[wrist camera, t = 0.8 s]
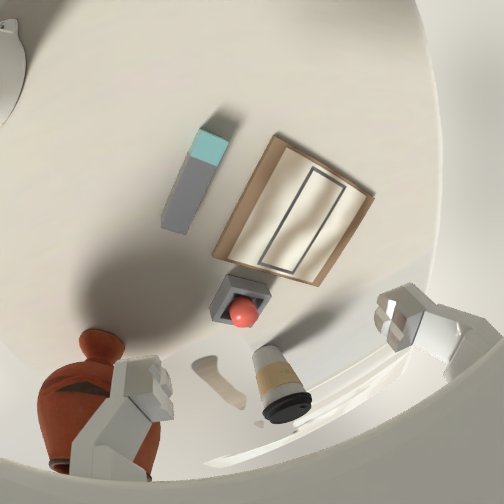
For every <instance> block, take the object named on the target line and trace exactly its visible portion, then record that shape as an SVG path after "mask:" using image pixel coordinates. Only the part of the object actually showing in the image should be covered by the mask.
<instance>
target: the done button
mask: <svg viewBox="0 0 504 504" xmlns="http://www.w3.org/2000/svg"><path fill="white" fill-rule="evenodd" d="M228 310H229V313H230V316H231V319H232V322H233V324H234V325H235V326H237V327H248V326H250V325H252V324H254V323H255V322H256V321H257V319H258V316H259V314H258V311H257V309H256V307H255V305H254V302H253V300H252V299H251V298H249V297H245V296H242V297H238V298H235V299H234V300H232V301H231V303H230V304H229V307H228Z"/></svg>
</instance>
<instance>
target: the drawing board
mask: <svg viewBox="0 0 504 504" xmlns="http://www.w3.org/2000/svg"><path fill="white" fill-rule="evenodd" d="M374 199H375V198H374V197H372V196H371V195H369V194H368V193H367V192H365V191H364V190H362V189H361V188H359V187H358V186H356V185H355V184H353V183H352V182H350V181H349V180H347V179H346V178H344V177H343V176H341V175H340V174H338V173H337V172H335V171H333V170H332V169H330V168H329V167H327V166H325V165H324V164H322V163H321V162H319V161H317V160H316V159H314V158H312V157H311V156H309V155H307V154H305V153H304V152H302V151H300V150H299V149H297V148H295V147H293V146H291V145H290V144H288V143H286V142H284V141H282V140H281V139H279V138H277V137H275V136H273V137H272V138H271V140H270V142H269V144H268V146H267V148H266V150H265V151H264V153H263V155H262V157H261V159H260V161H259V163H258V165H257V167H256V168H255V170H254V172H253V174H252V176H251V178H250V180H249V182H248V184H247V186H246V188H245V190H244V192H243V193H242V195H241V197H240V199H239V201H238V203H237V205H236V207H235V209H234V211H233V213H232V215H231V217H230V219H229V221H228V223H227V225H226V227H225V229H224V231H223V233H222V235H221V237H220V239H219V241H218V243H217V245H216V247H215V249H214V252H213V254H212V255H213V257H214V258H217V259H221V260H224V261H228V262H231V263H235V264H238V265H241V266H245V267H249V268H252V269H256V270H259V271H263V272H266V273H270V274H273V275H277V276H280V277H284V278H288V279H291V280H295V281H299V282H302V283H306V284H309V285H313V286H317V287H319V286H320V284H321V283H322V281H323V280H324V278H325V277H326V275H327V274H328V272H329V271H330V270H331V268H332V267H333V265H334V264H335V262H336V260H337V259H338V257H339V256H340V254H341V253H342V251H343V250H344V248H345V247H346V245H347V244H348V242H349V240H350V239H351V237H352V236H353V234H354V232H355V231H356V229H357V228H358V226H359V224H360V223H361V221H362V219H363V218H364V216H365V214H366V213H367V211H368V209H369V208H370V206H371V204H372V203H373V201H374Z"/></svg>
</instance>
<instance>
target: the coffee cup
mask: <svg viewBox="0 0 504 504" xmlns="http://www.w3.org/2000/svg"><path fill="white" fill-rule="evenodd" d="M252 359H253V363H254V368H255V372H256V379H257V383H258V388H259V392H260V396H261V400H262V402H263V404H264V408H265V409H264V410H263V415H264V417H265V418H266V419H267V420H270V422H271V423H273V424H282V423H287V422H290V421H293V420H295V419H297V418H299V417H301V416H303V415H304V414H306V413H307V412H308V411H309V410H310V409H311V402H312V398H311V394H310V393H307V392H306V391H305V389H304V388H303V385H302V383H301V381H300V380H299V378H298V377H297V375H296V374H295V372H294V370H293V369H292V367H291V366H290V364H289V363H288V362H287V361H286V359H285V358H284V356H283V354H282V353H281V351H280V350H279V348H278V347H276V346H274V345H267V346H263V347H261V348H260V349H258V350H257V351H256V352H255V353H254V354H253V356H252Z"/></svg>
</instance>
